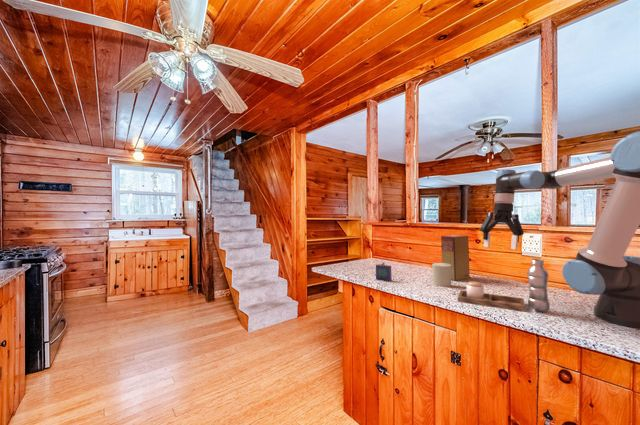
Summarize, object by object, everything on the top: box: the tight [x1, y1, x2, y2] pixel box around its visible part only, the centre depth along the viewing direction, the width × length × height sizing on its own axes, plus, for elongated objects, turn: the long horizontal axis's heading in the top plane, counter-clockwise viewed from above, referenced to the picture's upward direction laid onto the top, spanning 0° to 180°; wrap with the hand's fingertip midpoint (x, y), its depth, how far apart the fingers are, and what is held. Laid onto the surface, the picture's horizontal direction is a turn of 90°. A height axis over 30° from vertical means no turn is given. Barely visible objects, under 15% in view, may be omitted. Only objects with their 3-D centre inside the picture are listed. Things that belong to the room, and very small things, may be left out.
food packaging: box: [440, 234, 471, 282], centre depth 156 cm, size 13×9×25 cm
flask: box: [375, 261, 393, 282], centre depth 155 cm, size 9×3×11 cm, turn 61°
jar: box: [466, 280, 485, 300], centre depth 115 cm, size 6×6×7 cm
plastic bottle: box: [526, 258, 551, 313], centre depth 104 cm, size 6×7×20 cm
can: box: [431, 262, 452, 288], centre depth 140 cm, size 9×9×12 cm
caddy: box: [457, 289, 527, 312], centre depth 112 cm, size 23×11×3 cm, turn 56°
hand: (500, 248), depth 125 cm, fingers open, 13 cm apart
